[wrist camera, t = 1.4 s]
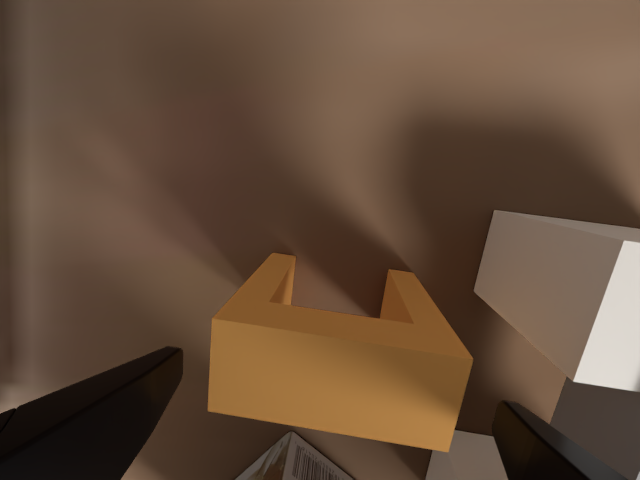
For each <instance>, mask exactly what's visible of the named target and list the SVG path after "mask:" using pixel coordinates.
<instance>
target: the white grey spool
mask: <svg viewBox="0 0 640 480" xmlns="http://www.w3.org/2000/svg"><path fill="white" fill-rule="evenodd" d="M474 292H475V293H476V294H477V295H478V296H479V297H480V298H481V299H482V300H484V301H485V302H486V303H487V304H488V305H489V306H490V307H491V308H492V309H493V310H495V311H496V312H497V313H498V314H499V315H500V316H501V317H502V318H503V319H504V320H506V321H507V322H508V323H509V324H510V325H511V326H512V327H513V328H514V329H515V330H517V331H518V332H519V333H520V334H521V335H522V336H523V337H524V338H525V339H527V340H528V341H529V342H530V343H531V344H532V345H533V346H534V347H535V348H536V349H538V350H539V351H540V352H541V353H542V354H543V355H544V356H545V357H546V358H547V359H549V360H550V361H551V362H552V363H553V364H554V365H555V366H556V367H557V368H558V369H560V370H561V371H562V372H563V373H564V374H565V375H566V376H567V377H566V380H565V383H564V386H563V389H562V391H561V394H560V397H559V400H558V403H557V405H556V408H555V411H554V414H553V417H552V419H551V422H550V425H551V426H552V427H553V428H555V429H556V430H558V431H559V432H561V433H562V434H563V435H565V436H566V437H568V438H569V439H571V440H572V441H574V442H575V443H576V444H578V445H579V446H581V447H582V448H584V449H585V450H587V451H588V452H589V453H591V454H592V455H594V456H595V457H597V458H598V459H600V460H601V461H602V462H604V463H605V464H607V465H608V466H610V467H611V468H613V469H614V470H615V471H617V472H618V473H620V474H621V475H623V476H624V477H626V478H627V479H628V480H640V229H638V228H630V227H623V226H615V225H607V224H599V223H592V222H584V221H576V220H569V219H561V218H553V217H546V216H538V215H530V214H522V213H515V212H507V211H499V210H494V212H493V216H492V220H491V224H490V228H489V232H488V236H487V240H486V244H485V248H484V251H483V255H482V259H481V263H480V267H479V271H478V275H477V279H476V283H475V287H474ZM425 480H508V478H507V475H506V472H505V469H504V466H503V463H502V460H501V457H500V454H499V451H498V449H497V446H496V443H495V440H494V437H493V436H487V435H481V434H475V433H469V432H463V431H457V430H454V433H453V437H452V441H451V444H450V448H449V452H443V451H437V450H433V451H432V455H431V459H430V463H429V467H428V471H427V474H426V478H425Z"/></svg>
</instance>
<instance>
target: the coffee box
mask: <svg viewBox="0 0 640 480" xmlns="http://www.w3.org/2000/svg"><path fill="white" fill-rule="evenodd" d="M235 480H353V479H352V478H351V477H350V476H348V475H347V474H346V473H345V472H343V471H342V470H341V469H340V468H338V467H337V466H336V465H335V464H333V463H332V462H331V461H330V460H328V459H327V458H326V457H324V456H323V455H322V454H321V453H319V452H318V451H317V450H316V449H314V448H313V447H312V446H311V445H309V444H308V443H307V442H305V441H304V440H303V439H302V438H301V437H299V436H298V435H297V434H296V433H294V432H293V431H290V432H288V433H287V434H286V435H285V436H283V437H282V438H281V439H280V440H279V441H278V442H277V443H276V444H274V445H273V446H272V447H271V448H270V449H269V450H268V451H266V452H265V453H264V454H263V455H262V456H261V457H260V458H259V459H258V460H256V461H255V462H254V463H253V464H252V465H251V466H250V467H249V468H247V469H246V470H245V471H244V472H243V473H242V474H241V475H240V476H238V477H237V478H236V479H235Z"/></svg>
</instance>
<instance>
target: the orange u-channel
mask: <svg viewBox="0 0 640 480" xmlns="http://www.w3.org/2000/svg"><path fill="white" fill-rule="evenodd" d="M295 262H296V256H293V255H286V254H279V253H272V254H271V255H270V256H269V257H268V258H267V259H266V260H265V261H264V262H263V263H262V265H261V266H260V267H259V268H258V269H257V270H256V271H255V272H254V273H253V274H252V275H251V277H250V278H249V279H248V280H247V281H246V282H245V283H244V284H243V285H242V286H241V287H240V289H239V290H238V291H237V292H236V293H235V294H234V295H233V296H232V297H231V298H230V299H229V300H228V302H227V303H226V304H225V305H224V306H223V307H222V308H221V309H220V310H219V311H218V312H217V314H216V315H215V316H214V317H213V318H212V328H211V350H210V372H209V393H208V411H210V412H216V413H222V414H227V415H233V416H239V417H245V418H251V419H256V420H262V421H268V422H274V423H280V424H285V425H291V426H297V427H303V428H309V429H315V430H320V431H326V432H332V433H338V434H344V435H349V436H355V437H361V438H367V439H373V440H379V441H384V442H390V443H396V444H402V445H408V446H413V447H419V448H425V449H431V450H437V451H443V452H449V448H450V444H451V441H452V437H453V433H454V430H455V426H456V422H457V419H458V415H459V411H460V408H461V404H462V400H463V397H464V393H465V389H466V385H467V382H468V378H469V374H470V371H471V367H472V363H473V360H474V359H473V358H472V356H471V355H470V353H469V352H468V350H467V349H466V348H465V346H464V345H463V343H462V342H461V340H460V339H459V337H458V336H457V335H456V333H455V332H454V330H453V329H452V327H451V326H450V325H449V323H448V322H447V320H446V319H445V317H444V316H443V315H442V313H441V312H440V310H439V309H438V307H437V306H436V305H435V303H434V302H433V300H432V299H431V297H430V296H429V295H428V293H427V292H426V290H425V289H424V287H423V286H422V284H421V283H420V282H419V280H418V279H417V277H416V276H415V274H414V273H412V272H405V271H398V270H391V269H389V270H388V275H387V281H386V286H385V291H384V297H383V302H382V308H381V313H380V319H378V318H372V317H365V316H358V315H352V314H345V313H338V312H332V311H325V310H319V309H312V308H305V307H299V306H292V305H291V298H292V289H293V280H294V271H295Z"/></svg>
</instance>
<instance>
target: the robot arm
mask: <svg viewBox="0 0 640 480" xmlns="http://www.w3.org/2000/svg"><path fill="white" fill-rule="evenodd" d="M182 374H183V350H182V349H181V348H177V347H171V346H167V347H165V348H162V349H160V350H157V351H155V352H152V353H150V354H147V355H145V356H142V357H140V358H137V359H135V360H132V361H130V362H127V363H125V364H122V365H120V366H117V367H115V368H112V369H110V370H108V371H105V372H103V373H100V374H98V375H95V376H93V377H90V378H88V379H85V380H83V381H80V382H78V383H75V384H73V385H70V386H68V387H65V388H63V389H60V390H58V391H55V392H53V393H50V394H48V395H45V396H43V397H40V398H38V399H36V400H33V401H31V402H28V403H26V404H23V405H21V406H19V407H18V408H17V409H16V408H13V409H10V410H8V411H6V412H3V413H1V414H0V480H121V478H122V477H123V475H124V474H125V472H126V471H127V469H128V468H129V466H130V465H131V463H132V462H133V460H134V459H135V457H136V456H137V455H138V453H139V452H140V450H141V449H142V447H143V446H144V444H145V443H146V441H147V440H148V438H149V437H150V435H151V433H152V432H153V430H154V428H155V427H156V425H157V423H158V421H159V419H160V418H161V416H162V414H163V412H164V410H165V409H166V407H167V405H168V403H169V401H170V399H171V398H172V396H173V394H174V392H175V390H176V389H177V387H178V385H179V383H180V381H181V379H182ZM492 433H493V437H494V440H495V443H496V446H497V449H498V451H499V454H500V457H501V460H502V463H503V466H504V469H505V472H506V475H507V478H508V480H628V479H627V478H626V477H624V476H623V475H621V474H620V473H618V472H617V471H615V470H614V469H613V468H611V467H610V466H608V465H607V464H605V463H604V462H602V461H601V460H600V459H598V458H597V457H595V456H594V455H592V454H591V453H589V452H588V451H587V450H585V449H584V448H582V447H581V446H579V445H578V444H576V443H575V442H574V441H572V440H571V439H569V438H568V437H566V436H565V435H563V434H562V433H561V432H559V431H558V430H556V429H555V428H553V427H552V426H551V425H549V424H548V423H546V422H545V421H543V420H542V419H540V418H539V417H538V416H536V415H535V414H533V413H532V412H530V411H529V410H527V409H526V408H525V407H523V406H522V405H520V404H519V403H516V402H511V401H505V400H502V401H500V402H499V404H498V407H497V410H496V413H495V417H494V420H493V423H492Z"/></svg>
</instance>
